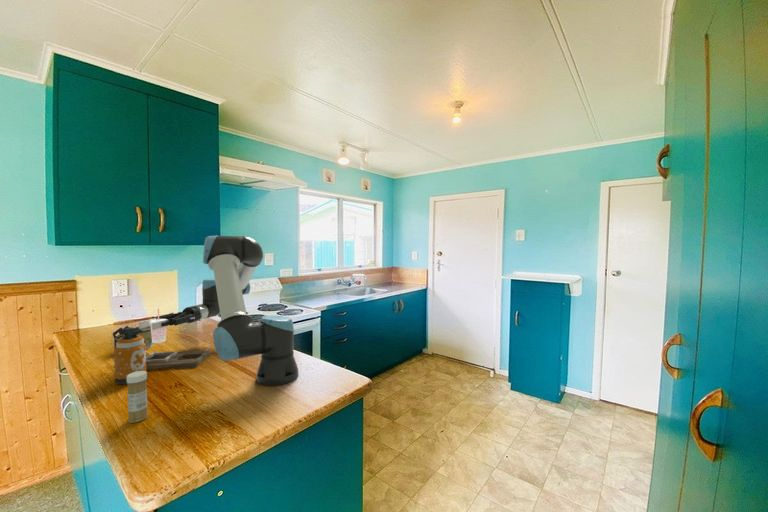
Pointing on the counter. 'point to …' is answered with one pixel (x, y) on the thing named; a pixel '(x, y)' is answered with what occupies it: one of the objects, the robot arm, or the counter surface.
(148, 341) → the ceramic cup
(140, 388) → the sprinkles bottle
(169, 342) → the counter surface
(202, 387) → the counter surface
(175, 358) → the divided serving tray
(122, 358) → the canister
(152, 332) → the beverage cup
